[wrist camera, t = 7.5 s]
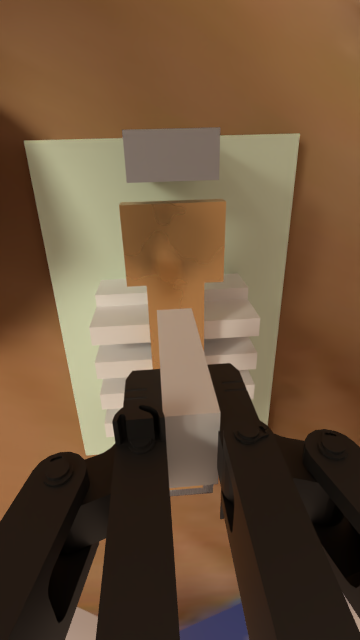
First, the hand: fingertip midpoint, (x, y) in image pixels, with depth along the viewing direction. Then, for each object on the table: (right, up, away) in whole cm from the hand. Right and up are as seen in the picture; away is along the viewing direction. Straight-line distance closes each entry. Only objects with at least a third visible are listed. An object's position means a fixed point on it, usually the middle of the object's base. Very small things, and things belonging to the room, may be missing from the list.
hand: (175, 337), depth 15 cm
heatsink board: (0, +1, +13) cm, 13 cm away
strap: (0, -3, +6) cm, 7 cm away
